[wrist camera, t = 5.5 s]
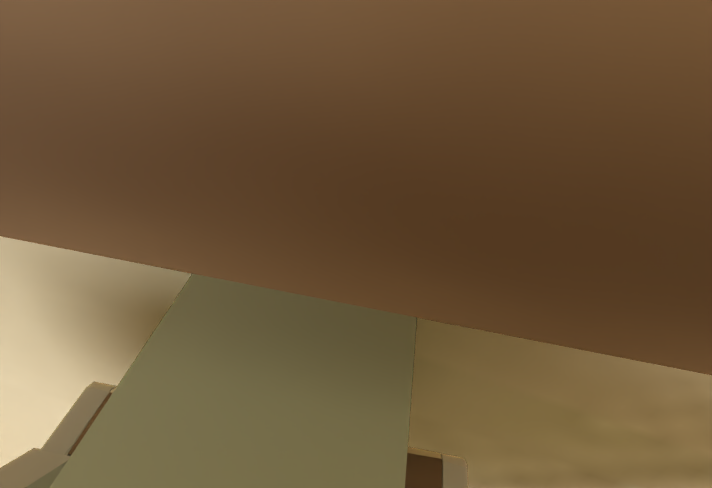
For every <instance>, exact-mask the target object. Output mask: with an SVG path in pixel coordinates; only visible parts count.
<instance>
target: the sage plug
mask: <svg viewBox="0 0 712 488" xmlns="http://www.w3.org/2000/svg"><path fill="white" fill-rule="evenodd" d="M416 325H417V317H412V316H407V315H402V314H397V313H391V312H386V311H381V310H376V309H371V308H366V307H361V306H356V305H351V304H345V303H340V302H335V301H330V300H325V299H320V298H315V297H310V296H304V295H299V294H294V293H289V292H284V291H279V290H274V289H269V288H264V287H258V286H253V285H248V284H243V283H238V282H233V281H228V280H223V279H217V278H212V277H207V276H202V275H197V274H192V275H191V277H190V278H189V280H188V281H187V283H186V284H185V286H184V287H183V289H182V290H181V292H180V293H179V295H178V296H177V298H176V299H175V301H174V302H173V304H172V305H171V307H170V308H169V310H168V311H167V313H166V314H165V316H164V317H163V319H162V320H161V322H160V323H159V325H158V326H157V328H156V329H155V331H154V332H153V334H152V335H151V337H150V338H149V340H148V341H147V343H146V344H145V346H144V347H143V349H142V350H141V352H140V353H139V355H138V356H137V358H136V359H135V361H134V362H133V364H132V365H131V367H130V368H129V370H128V371H127V373H126V374H125V376H124V377H123V379H122V380H121V382H120V383H119V385H118V386H117V387H116V389H115V390H114V392H113V393H112V395H111V396H110V398H109V399H108V401H107V402H106V404H105V405H104V407H103V408H102V410H101V411H100V413H99V414H98V416H97V417H96V419H95V420H94V422H93V423H92V425H91V426H90V428H89V429H88V431H87V432H86V434H85V435H84V437H83V438H82V440H81V441H80V443H79V444H78V446H77V447H76V449H75V450H74V452H73V453H72V455H71V456H70V458H69V459H68V461H67V462H66V464H65V465H64V467H63V468H62V470H61V471H60V473H59V474H58V476H57V477H56V479H55V480H54V482H53V483H52V485H51V486H50V488H405V478H406V464H407V450H408V437H409V423H410V409H411V395H412V381H413V367H414V353H415V339H416Z"/></svg>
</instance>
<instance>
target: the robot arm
mask: <svg viewBox="0 0 712 488" xmlns="http://www.w3.org/2000/svg"><path fill="white" fill-rule="evenodd" d="M116 387H117V386H114V385H109V384H104V383H99V382H93V383H92V384H90V385H89V386H88V387H86V388H85V390H84V391H83V392H82V394H81V395H80V397H79V398H78V399H77V401H76V402H75V403H74V405H73V406H72V407H71V409H70V410H69V412H68V413H67V414H66V416H65V417H64V418H63V420H62V421H61V422H60V424H59V425H58V427H57V428H56V429H55V431H54V432H53V433H52V435H51V436H50V437H49V439H48V440H47V442H46V443H45V444H44V446H43V447H42V448H41V449H37V448H33V449H31V450H30V451H28V452H26V453H25V454H23V455H21V456H20V457H18V458H16V459H15V460H13V461H11V462H9V463H8V464H6V465H4V466H3V467H1V468H0V488H50V486H51V485H52V483H53V482H54V480H55V479H56V477H57V476H58V474H59V473H60V471H61V470H62V468H63V467H64V465H65V464H66V462H67V461H68V459H69V458H70V456H71V455H72V453H73V452H74V450H75V449H76V447H77V446H78V444H79V443H80V441H81V440H82V438H83V437H84V435H85V434H86V432H87V431H88V429H89V428H90V426H91V425H92V423H93V422H94V420H95V419H96V417H97V416H98V414H99V413H100V411H101V410H102V408H103V407H104V405H105V404H106V402H107V401H108V399H109V398H110V396H111V395H112V393H113V392H114V390H115V389H116ZM405 488H468V473H467V463H466V461H465V459H464V458H462V457H457V456H452V455H447V454H441V453H439V452H434V451H429V450H423V449H418V448H413V447H408V450H407V464H406V478H405Z"/></svg>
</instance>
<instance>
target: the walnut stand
mask: <svg viewBox="0 0 712 488" xmlns="http://www.w3.org/2000/svg"><path fill="white" fill-rule="evenodd" d="M0 236H3V237H8V238H13V239H18V240H23V241H28V242H33V243H38V244H43V245H49V246H54V247H59V248H64V249H69V250H74V251H79V252H84V253H90V254H95V255H100V256H105V257H110V258H115V259H120V260H125V261H130V262H136V263H141V264H146V265H151V266H156V267H161V268H166V269H171V270H177V271H182V272H187V273H192V274H197V275H202V276H207V277H212V278H217V279H223V280H228V281H233V282H238V283H243V284H248V285H253V286H258V287H264V288H269V289H274V290H279V291H284V292H289V293H294V294H299V295H304V296H310V297H315V298H320V299H325V300H330V301H335V302H340V303H345V304H351V305H356V306H361V307H366V308H371V309H376V310H381V311H386V312H391V313H397V314H402V315H407V316H412V317H417V318H422V319H427V320H432V321H438V322H443V323H448V324H453V325H458V326H463V327H468V328H473V329H479V330H484V331H489V332H494V333H499V334H504V335H509V336H514V337H519V338H525V339H530V340H535V341H540V342H545V343H550V344H555V345H560V346H566V347H571V348H576V349H581V350H586V351H591V352H596V353H601V354H606V355H612V356H617V357H622V358H627V359H632V360H637V361H642V362H647V363H653V364H658V365H663V366H668V367H673V368H678V369H683V370H688V371H693V372H699V373H704V374H709V375H712V0H0Z"/></svg>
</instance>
